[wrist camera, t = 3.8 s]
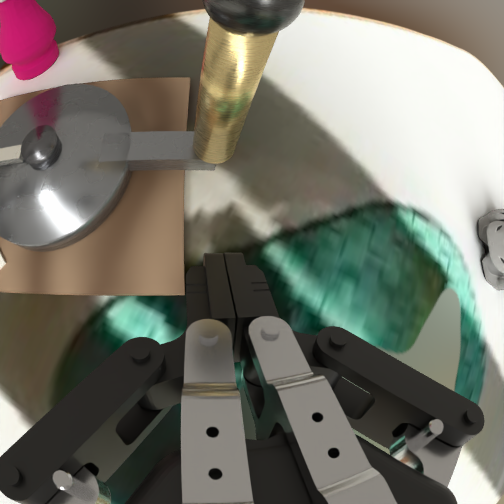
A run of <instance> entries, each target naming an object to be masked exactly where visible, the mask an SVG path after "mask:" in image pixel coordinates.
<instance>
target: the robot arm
mask: <svg viewBox="0 0 504 504" xmlns="http://www.w3.org/2000/svg"><path fill="white" fill-rule="evenodd" d="M186 298H187V328H186V330H185V332H184V333H183V334H182V335H181V336H180V337H179V338H177V339H175V340H173V341H171V342H167V343H164V344H161V345H160V344H159V343H158V342H157V341H155V340H153V339H151V338H147V337H137V338H133V339H130V340H128V341H127V342H125V343H124V344H123V345H122V346H121V347H120V348H118V349H117V350H116V351H115V352H114V353H113V354H112V355H111V356H110V357H108V358H107V359H106V360H105V361H104V362H103V363H102V364H101V365H99V366H98V367H97V368H96V369H95V370H94V371H93V372H92V373H91V374H89V375H88V376H87V377H86V378H85V379H84V380H83V381H82V382H81V383H80V384H78V385H77V386H76V387H75V388H74V389H73V390H72V391H71V392H70V393H69V394H67V395H66V396H65V397H64V398H63V399H62V400H61V401H60V402H59V403H58V404H57V405H55V406H54V407H53V408H52V409H51V410H50V411H49V412H48V413H47V414H46V415H45V416H43V417H42V418H41V419H40V420H39V421H38V422H37V423H36V424H35V425H34V426H33V427H32V428H31V429H29V430H28V431H27V432H26V433H25V434H24V435H23V436H22V437H21V438H20V439H19V440H18V441H17V442H16V443H15V444H13V445H12V446H11V447H10V448H9V449H8V450H7V451H6V452H5V453H4V454H3V455H2V456H1V457H0V491H1V492H2V493H3V494H4V495H5V496H7V497H8V498H10V499H12V500H14V501H16V502H18V503H21V504H110V502H111V495H110V491H109V489H108V487H107V485H106V484H105V482H106V480H107V479H108V478H109V477H110V476H111V475H112V474H113V473H114V472H115V471H116V470H117V469H118V468H119V466H120V465H121V464H122V463H123V462H124V461H125V460H126V459H127V458H128V457H129V455H130V454H131V453H132V452H133V451H134V450H135V449H136V448H137V447H138V445H139V444H140V443H141V442H142V441H143V440H144V439H145V438H146V436H147V435H148V434H149V433H150V432H151V431H152V430H153V429H154V427H155V426H156V425H157V424H158V423H159V422H160V421H161V419H162V418H163V417H164V416H165V415H166V414H167V412H168V411H169V410H170V409H171V407H172V405H175V404H178V403H181V449H180V450H178V451H175V452H173V453H171V454H169V455H168V456H166V457H165V458H163V459H162V460H161V461H160V462H159V463H158V464H156V465H155V467H154V468H153V469H152V470H151V471H150V473H149V474H148V475H147V477H146V478H145V479H144V480H143V482H142V483H141V484H140V485H139V487H138V488H137V489H136V490H135V492H134V493H133V494H132V495H131V497H130V498H129V499H128V500H127V501H126V503H125V504H457V501H456V498H455V496H454V495H453V493H452V492H451V491H450V489H448V488H447V487H448V484H449V482H450V479H451V477H452V474H453V471H454V469H455V466H456V463H457V460H458V457H459V454H460V451H461V448H462V446H463V445H464V444H465V443H466V442H468V441H469V440H470V439H472V438H473V437H474V436H476V435H477V434H478V433H479V432H480V431H481V430H482V429H483V426H484V415H483V412H482V410H481V409H480V407H479V406H478V405H477V404H475V403H474V402H472V401H470V400H468V399H467V398H465V397H463V396H461V395H459V394H458V393H456V392H454V391H452V390H450V389H448V388H447V387H445V386H443V385H441V384H439V383H438V382H436V381H434V380H432V379H431V378H429V377H427V376H425V375H424V374H422V373H420V372H418V371H416V370H415V369H413V368H411V367H409V366H408V365H406V364H404V363H402V362H401V361H399V360H397V359H395V358H394V357H392V356H390V355H388V354H387V353H385V352H383V351H381V350H380V349H378V348H376V347H375V346H373V345H371V344H369V343H368V342H366V341H364V340H363V339H361V338H359V337H357V336H356V335H354V334H352V333H351V332H349V331H347V330H345V329H343V328H340V327H335V326H330V327H326V328H324V329H322V330H321V331H320V332H319V333H318V335H317V336H316V335H309V334H303V333H298V332H295V331H293V330H291V328H290V326H289V325H288V324H287V323H286V322H285V321H283V320H282V319H280V318H279V315H278V312H277V309H276V307H275V304H274V301H273V298H272V296H271V293H270V291H269V287H268V285H267V283H266V279H265V276H264V273H263V272H262V271H261V270H260V269H259V268H258V267H257V266H256V265H246V264H245V260H244V257H243V254H242V253H204V263H203V266H191V267H190V269H189V270H188V272H187V274H186ZM234 362H241V366H242V375H241V380H242V384H243V387H244V390H245V393H246V397H247V400H248V403H249V406H250V409H251V413H252V416H253V419H254V422H255V427H256V438H257V440H249V439H245V435H244V427H243V418H242V410H241V401H240V393H239V389H238V388H237V387H236V380H235V370H234ZM342 377H344V378H346V379H347V380H349V381H350V382H352V383H354V384H355V385H357V386H359V387H361V388H362V389H364V390H365V391H367V392H369V393H370V394H369V393H367V392H365V391H363V390H362V389H360V388H359V387H357V386H355V385H354V384H352V383H350V382H349V381H347V380H345V379H344V378H342ZM352 428H353V429H355V430H357V431H358V432H360V433H361V434H363V435H365V436H366V437H368V438H370V439H372V440H373V441H375V442H377V443H379V444H381V445H382V446H384V447H386V448H388V449H389V450H390V455H389V454H387V453H386V452H384V451H382V450H381V449H379V448H377V447H376V446H374V445H373V444H371V443H369V442H368V441H366V440H364V439H363V438H361V437H359V436H358V435H356V434H354V432H353V430H352Z"/></svg>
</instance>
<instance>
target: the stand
mask: <svg viewBox="0 0 504 504" xmlns="http://www.w3.org/2000/svg"><path fill="white" fill-rule="evenodd" d="M82 84H87V85H93V86H96V87H100V88H102V89H104V90H106V91H108V92H110V93H111V94H112V95H114V96H115V97H116V98H117V99H118V100H119V101H120V102H121V104H122V105H123V107H124V108H125V110H126V113H127V115H128V118H129V122H130V126H131V131H132V132H149V131H187V115H188V101H189V89H190V78H181V77H166V78H135V79H120V80H108V81H98V82H90V83H82ZM51 89H53V88H51ZM47 90H50V89H46V90H41V91H36V92H31V93H27V94H23V95H19V96H15V97H11V98H7V99H3V100H0V127H1V126H2V125H3V123H4V122H5V121H6V120H7V119H8V118H9V117H10V116H11V115H12V114H13V113H14V112H15V111H16V110H17V109H18V108H19V107H21V106H22V105H23V104H24V103H26V102H27V101H29V100H30V99H32V98H33V97H35V96H37V95H39V94H41V93H43V92H45V91H47ZM184 175H185V170H139V171H133V172H132V175H131V179H130V182H129V184H128V187H127V189H126V191H125V193H124V195H123V197H122V199H121V200H120V202H119V204H118V205H117V207H116V208H115V209H114V211H113V212H112V213H111V215H110V216H109V217H108V218H107V219H106V220H105V221H104V222H103V223H102V224H101V225H100V226H99V227H98V228H97V229H96V230H95V231H94V232H92V233H91V234H89V235H88V236H87V237H85V238H84V239H82V240H80V241H78V242H77V243H75V244H73V245H70V246H68V247H65V248H63V249H59V250H55V251H46V252H39V251H31V250H27V249H24V248H22V247H20V246H17V245H15V244H13V243H11V242H9V241H7V240H5V239H3V238H2V237H0V292H6V293H27V294H54V295H107V296H151V295H185V287H184Z"/></svg>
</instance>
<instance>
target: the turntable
mask: <svg viewBox="0 0 504 504" xmlns="http://www.w3.org/2000/svg"><path fill="white" fill-rule="evenodd" d="M304 2H305V0H203V4H204V7H205V9H206V11H207V13H208V15H209V16H210V20H209V26H208V32H207V38H206V44H205V50H204V57H203V63H202V71H201V78H200V85H199V93H198V101H197V110H196V119H195V128H194V131H149V132H132V131H131V126H130V122H129V118H128V115H127V113H126V110H125V108H124V107H123V105H122V104H121V102H120V101H119V100H118V99H117V98H116V97H115V96H114V95H112V94H111V93H110V92H108V91H106V90H104V89H102V88H100V87H96V86H93V85H87V84H71V85H64V86H60V87H56V88H53V89H50V90H47V91H45V92H43V93H41V94H39V95H37V96H35V97H33V98H32V99H30V100H29V101H27V102H26V103H24V104H23V105H22V106H21V107H19V108H18V109H17V110H16V111H15V112H14V113H13V114H12V115H11V116H10V117H9V118H8V119H7V120H6V121H5V122H4V123H3V125H2V126H1V127H0V237H2V238H3V239H5V240H7V241H9V242H11V243H13V244H15V245H17V246H20V247H22V248H24V249H27V250H31V251H39V252H46V251H55V250H59V249H63V248H65V247H68V246H70V245H73V244H75V243H77V242H78V241H80V240H82V239H84V238H85V237H87V236H88V235H89V234H91V233H92V232H94V231H95V230H96V229H97V228H98V227H99V226H100V225H101V224H102V223H103V222H104V221H105V220H106V219H107V218H108V217H109V216H110V215H111V213H112V212H113V211H114V209H115V208H116V207H117V205H118V204H119V202H120V200H121V199H122V197H123V195H124V193H125V191H126V189H127V187H128V184H129V182H130V179H131V175H132V172H133V171H139V170H215V166H216V164H218V163H222V162H225V161H227V160H228V159H230V158H231V156H232V155H233V153H234V151H235V148H236V145H237V142H238V139H239V136H240V133H241V130H242V128H243V125H244V122H245V119H246V116H247V113H248V111H249V108H250V105H251V102H252V100H253V97H254V94H255V92H256V89H257V86H258V84H259V81H260V78H261V76H262V73H263V70H264V68H265V65H266V63H267V60H268V57H269V55H270V52H271V50H272V47H273V45H274V42H275V40H276V37H277V35H278V32H279V31H280V30H282V29H284V28H285V27H287V26H288V25H290V24H291V23H292V22H293V21H294V20H295V19H296V18H297V17H298V15H299V14H300V12H301V10H302V8H303V5H304Z"/></svg>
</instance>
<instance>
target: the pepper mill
mask: <svg viewBox="0 0 504 504" xmlns="http://www.w3.org/2000/svg"><path fill="white" fill-rule="evenodd" d="M0 22H1V29H0V53H1V55H2V58H3V60H4V61H5V62H6V63H8V64H12V69H13V71H14V73H15V75H16V77H17V78H18V79H20V80H28V79H31V78H34V77H36V76H38V75H40V74H42V73H43V72H45V71H46V70H47V69H48V68H49V67H51V66H52V64H53V63H54V62H55V61H56V59H57V57H58V55H59V49H58V46H57V43H56V41H55V40H54V39H53V38H54V36H55V33H56V25H55V23H54V20H53V18H52V17H51V16H50V15H49V13H47V12H46V11H45V10H44V9H42V8H41V7H40V6H39V5H38V4H37V2H36V1H35V0H0Z"/></svg>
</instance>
